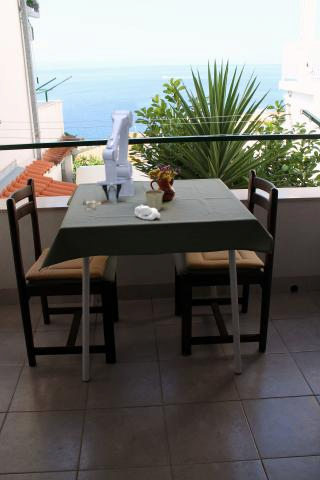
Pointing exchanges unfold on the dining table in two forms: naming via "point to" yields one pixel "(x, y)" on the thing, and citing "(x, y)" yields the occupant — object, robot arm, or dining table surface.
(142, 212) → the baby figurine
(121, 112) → the robot arm
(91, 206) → the die
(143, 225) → the dining table surface
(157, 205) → the flower pot
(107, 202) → the track
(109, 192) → the pawn
